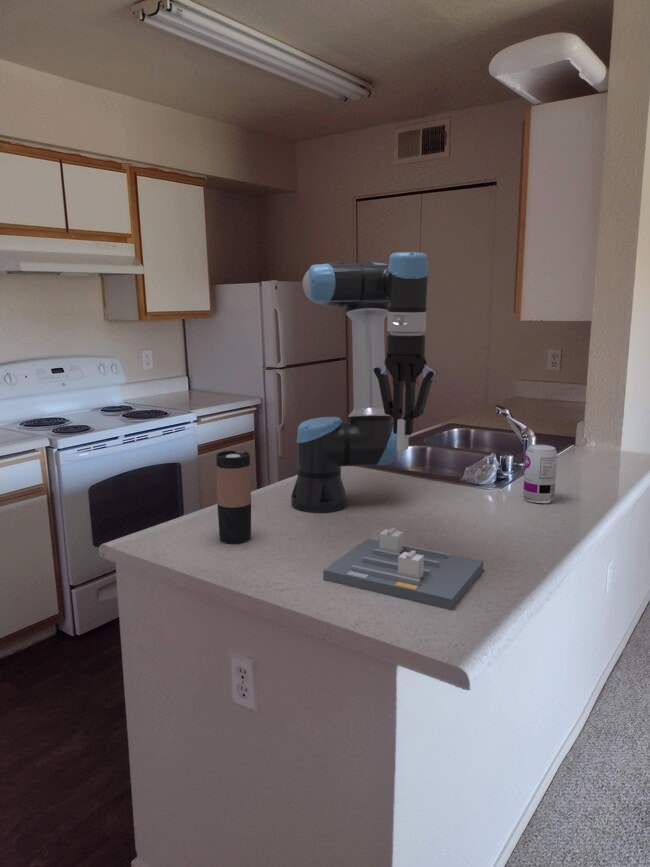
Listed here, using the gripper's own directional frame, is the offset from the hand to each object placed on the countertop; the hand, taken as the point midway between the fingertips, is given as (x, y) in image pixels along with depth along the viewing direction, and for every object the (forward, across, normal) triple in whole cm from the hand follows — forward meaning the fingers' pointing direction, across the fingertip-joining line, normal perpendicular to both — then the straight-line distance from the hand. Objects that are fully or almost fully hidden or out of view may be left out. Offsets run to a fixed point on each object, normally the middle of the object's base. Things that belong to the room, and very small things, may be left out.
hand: (402, 449), depth 133 cm
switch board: (+24, +4, -8) cm, 25 cm away
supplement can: (+25, +19, +57) cm, 65 cm away
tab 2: (+21, +8, -13) cm, 26 cm away
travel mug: (+24, -37, -7) cm, 45 cm away
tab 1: (+21, -1, -3) cm, 22 cm away
